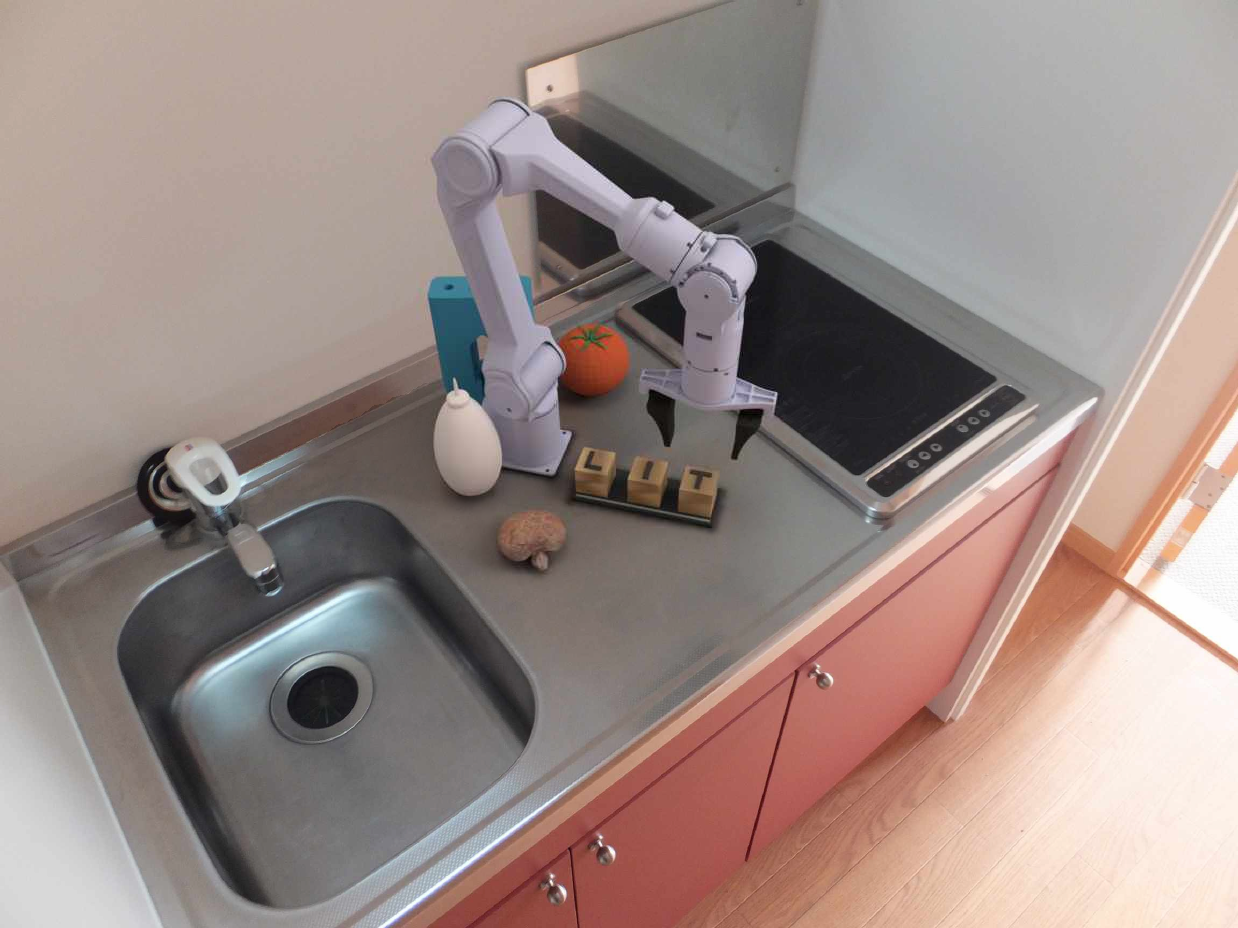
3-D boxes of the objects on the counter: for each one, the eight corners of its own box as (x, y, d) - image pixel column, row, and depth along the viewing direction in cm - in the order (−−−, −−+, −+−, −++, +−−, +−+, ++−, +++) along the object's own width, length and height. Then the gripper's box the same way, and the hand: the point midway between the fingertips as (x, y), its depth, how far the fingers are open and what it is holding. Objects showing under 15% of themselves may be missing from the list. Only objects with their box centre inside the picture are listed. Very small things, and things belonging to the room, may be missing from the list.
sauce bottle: (498, 458, 112) (481, 349, 99) (513, 502, 107) (496, 392, 94) (438, 473, 110) (412, 363, 97) (450, 518, 105) (424, 408, 92)
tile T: (677, 511, 105) (679, 488, 102) (684, 487, 108) (686, 464, 104) (710, 518, 104) (712, 495, 101) (716, 493, 107) (719, 470, 104)
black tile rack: (572, 500, 107) (571, 497, 107) (585, 466, 111) (585, 462, 111) (711, 528, 104) (712, 524, 103) (721, 491, 108) (721, 488, 107)
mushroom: (581, 565, 100) (567, 503, 104) (555, 551, 95) (542, 487, 99) (524, 587, 102) (513, 526, 106) (497, 575, 97) (486, 511, 101)
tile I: (627, 501, 106) (627, 478, 103) (635, 478, 109) (635, 454, 106) (659, 507, 105) (660, 484, 102) (666, 484, 108) (667, 460, 105)
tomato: (543, 398, 120) (537, 341, 113) (576, 355, 126) (573, 298, 119) (610, 419, 117) (609, 362, 110) (641, 374, 123) (641, 316, 116)
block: (542, 404, 119) (531, 275, 106) (540, 428, 116) (528, 297, 102) (455, 405, 120) (432, 276, 106) (450, 429, 116) (426, 298, 102)
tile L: (575, 491, 107) (574, 468, 104) (585, 468, 110) (583, 445, 107) (607, 498, 106) (606, 474, 103) (615, 474, 109) (615, 451, 106)
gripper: (787, 341, 90) (771, 434, 100) (651, 319, 93) (648, 412, 103) (777, 385, 86) (761, 478, 95) (634, 360, 88) (633, 454, 98)
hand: (701, 447), depth 99 cm, fingers open, 7 cm apart
